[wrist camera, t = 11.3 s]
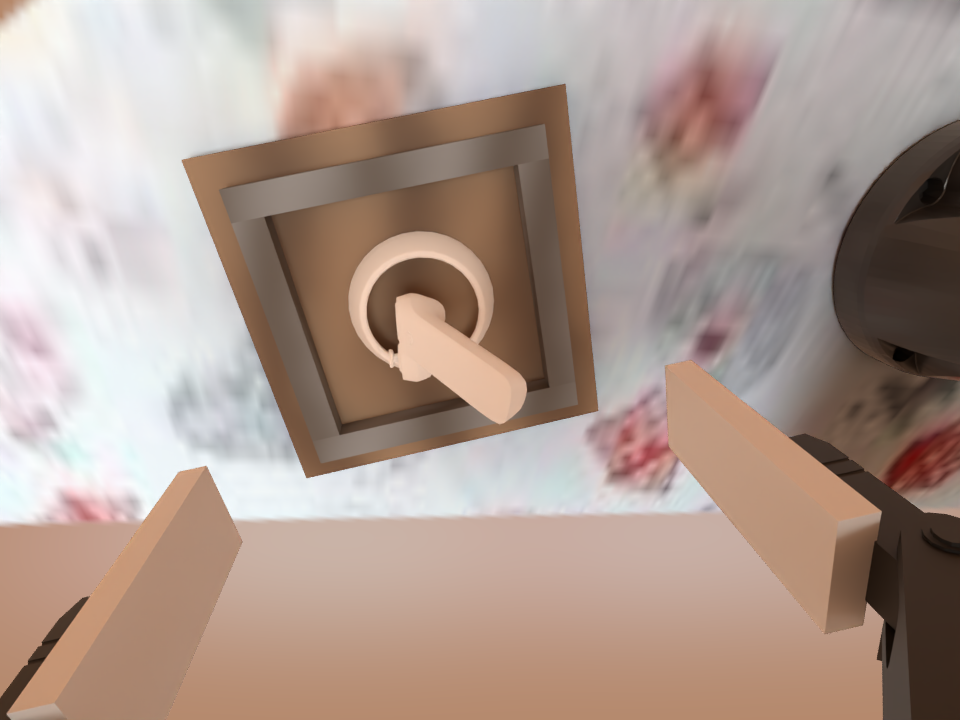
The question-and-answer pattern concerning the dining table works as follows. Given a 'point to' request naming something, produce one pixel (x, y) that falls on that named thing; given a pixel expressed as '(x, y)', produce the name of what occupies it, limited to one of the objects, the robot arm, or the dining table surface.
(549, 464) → the dining table surface
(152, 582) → the robot arm
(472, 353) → the hook
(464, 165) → the picture frame
